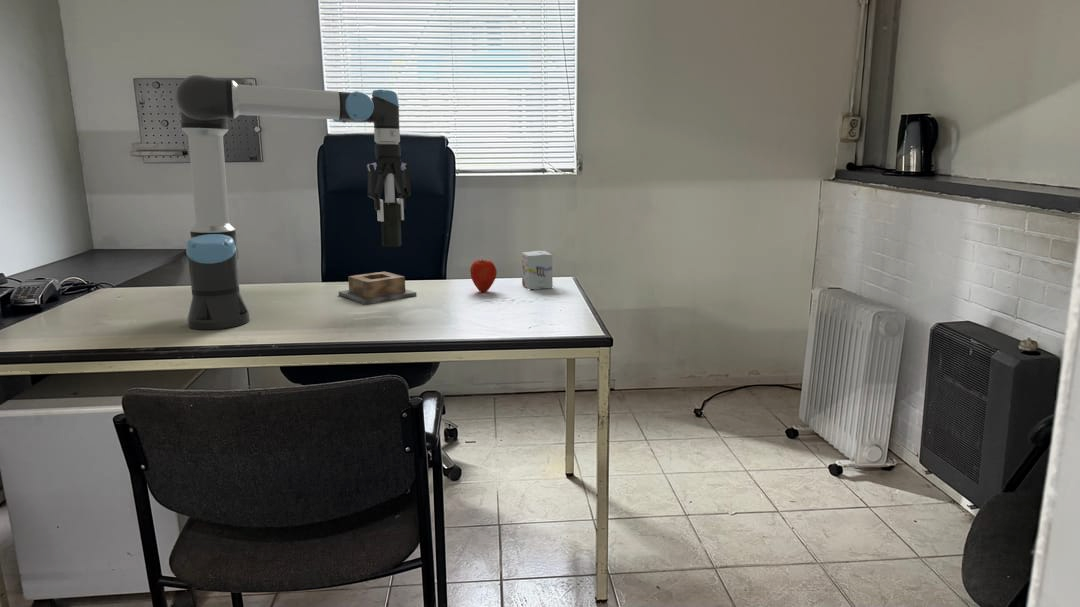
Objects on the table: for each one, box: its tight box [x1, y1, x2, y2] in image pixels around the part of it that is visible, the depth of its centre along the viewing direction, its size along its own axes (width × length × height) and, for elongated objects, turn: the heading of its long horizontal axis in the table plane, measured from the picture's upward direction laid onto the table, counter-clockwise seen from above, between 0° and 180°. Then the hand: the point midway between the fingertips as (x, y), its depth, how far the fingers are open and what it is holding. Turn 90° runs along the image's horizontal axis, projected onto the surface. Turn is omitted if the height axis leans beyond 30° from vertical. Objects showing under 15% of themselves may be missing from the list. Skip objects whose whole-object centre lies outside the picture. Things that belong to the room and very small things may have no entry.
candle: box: [380, 173, 402, 248], centre depth 210 cm, size 5×5×25 cm
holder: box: [338, 271, 418, 305], centre depth 219 cm, size 18×18×6 cm
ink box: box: [521, 250, 554, 290], centre depth 230 cm, size 9×9×12 cm
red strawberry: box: [469, 258, 498, 293], centre depth 223 cm, size 9×8×11 cm
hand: (390, 220), depth 211 cm, fingers closed on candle, 6 cm apart
